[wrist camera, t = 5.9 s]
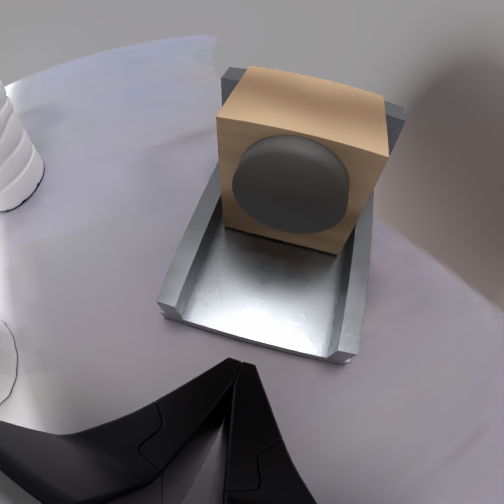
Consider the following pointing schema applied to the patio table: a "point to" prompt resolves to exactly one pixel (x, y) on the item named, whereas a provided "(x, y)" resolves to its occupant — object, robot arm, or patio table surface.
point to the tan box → (299, 156)
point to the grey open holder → (271, 277)
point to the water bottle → (16, 158)
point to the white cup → (6, 361)
